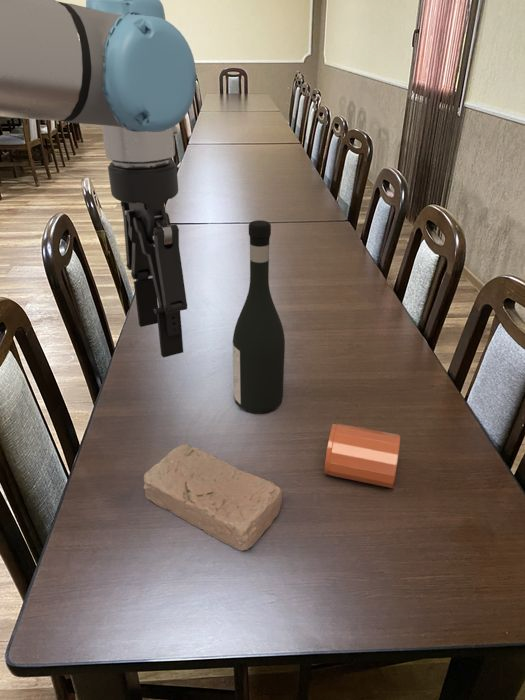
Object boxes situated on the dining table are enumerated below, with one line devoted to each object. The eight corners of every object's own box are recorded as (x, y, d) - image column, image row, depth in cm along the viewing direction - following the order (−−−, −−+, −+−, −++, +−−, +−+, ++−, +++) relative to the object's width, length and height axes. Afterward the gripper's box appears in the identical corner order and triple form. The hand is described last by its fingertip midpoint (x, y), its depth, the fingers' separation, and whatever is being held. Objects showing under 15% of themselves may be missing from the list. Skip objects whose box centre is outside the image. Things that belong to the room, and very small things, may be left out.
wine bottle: (226, 410, 86) (221, 228, 71) (243, 383, 93) (242, 211, 77) (274, 420, 84) (279, 235, 69) (288, 392, 90) (296, 217, 75)
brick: (141, 499, 70) (137, 472, 67) (184, 462, 76) (181, 436, 73) (246, 560, 62) (246, 532, 60) (283, 513, 68) (285, 486, 66)
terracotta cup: (322, 473, 69) (393, 487, 67) (332, 419, 71) (401, 432, 69) (326, 475, 76) (391, 488, 74) (335, 426, 77) (398, 438, 75)
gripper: (212, 177, 53) (219, 369, 65) (144, 141, 69) (160, 301, 81) (138, 185, 50) (160, 385, 62) (85, 146, 66) (110, 311, 78)
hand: (160, 337), depth 71 cm, fingers open, 8 cm apart
